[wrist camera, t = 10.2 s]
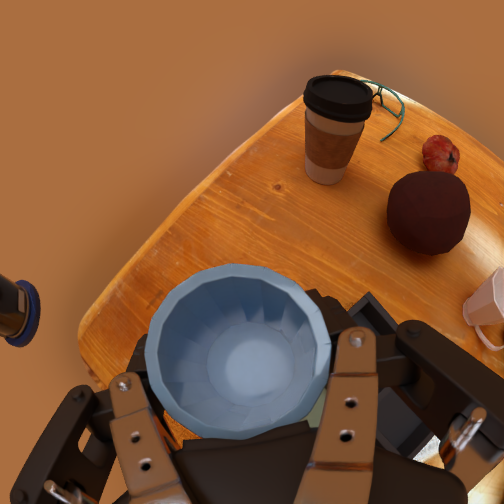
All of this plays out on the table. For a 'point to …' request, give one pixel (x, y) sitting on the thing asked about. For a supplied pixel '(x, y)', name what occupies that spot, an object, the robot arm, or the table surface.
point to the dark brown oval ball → (428, 211)
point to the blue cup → (237, 352)
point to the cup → (486, 305)
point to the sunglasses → (385, 106)
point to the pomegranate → (440, 154)
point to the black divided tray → (384, 392)
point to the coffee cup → (333, 124)
